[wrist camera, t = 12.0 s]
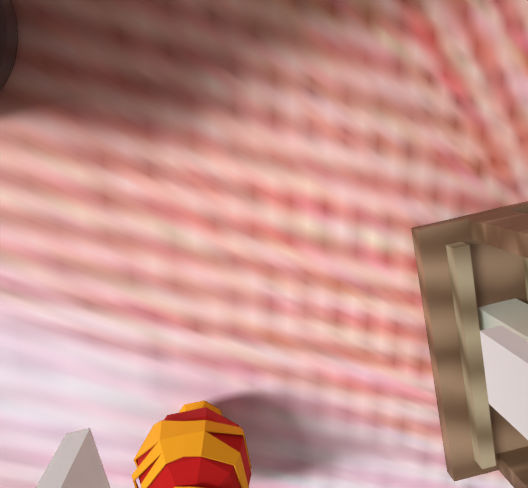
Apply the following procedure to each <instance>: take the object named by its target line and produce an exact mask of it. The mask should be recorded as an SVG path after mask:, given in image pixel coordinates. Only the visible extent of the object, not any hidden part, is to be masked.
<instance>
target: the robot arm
mask: <svg viewBox="0 0 528 488" xmlns="http://www.w3.org/2000/svg"><path fill="white" fill-rule="evenodd" d="M17 37H18V36H17V24H16V18H15V13H14V9H13V6H12V3H11V0H0V90H1V89H2V87H3V86H4V84H5V83H6V81H7V79H8V77H9V75H10V73H11V70H12V68H13V65H14V61H15V57H16V51H17ZM480 337H481V345H482V353H483V361H484V369H485V378H486V386H487V394H488V402H489V404H490V405H491V406H492V407H493V408H494V409H495V410H496V411H497V412H498V413H499V414H500V415H502V416H503V417H504V418H505V419H506V420H507V421H508V422H509V423H510V424H511V425H512V426H513V427H514V428H515V429H517V430H518V431H519V432H520V433H521V434H522V435H523V436H524V437H525V438H526V439H527V440H528V341H526V340H525V339H523V338H521V337H520V336H518V335H516V334H515V333H513V332H512V331H510V330H508V329H507V328H505V327H503V326H502V325H501V326H497V327H493V328H489V329H485V330H481V331H480ZM36 488H110V486H109V483H108V480H107V477H106V474H105V471H104V468H103V465H102V462H101V459H100V456H99V453H98V450H97V447H96V445H95V442H94V439H93V436H92V433H91V430H90V428H88V429H84V430H80V431H76V432H72V433H68V434H66V435H65V437H64V438H63V440H62V442H61V444H60V446H59V447H58V449H57V451H56V453H55V455H54V456H53V458H52V460H51V462H50V463H49V465H48V467H47V469H46V471H45V472H44V474H43V476H42V478H41V480H40V481H39V483H38V485H37V487H36Z"/></svg>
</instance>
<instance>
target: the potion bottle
mask: <svg viewBox="0 0 528 488" xmlns="http://www.w3.org/2000/svg"><path fill="white" fill-rule="evenodd" d="M134 462H135V464H136V466H137V469H136V471H135V472H134V473H133V474H132V478H133V482H134V485H135V488H138V485H137V483H136V479H137V478H138V477H139V480H140V484H141V487H142V488H249V482H250V477H251V470H250V469H251V464H250V459H249V454H248V449H247V444H246V440H245V435H244V432H243V430H242V428H241V427H239V425H237V424H235V423H234V422H232V421H230V420H228V419H226V418H225V417H223V416H222V412H221V410H220V409H218V408H216V407H214V406H213V405H211V404H209V403H207V402H206V401H200V402H195V403H191V404H186V405H184V406H183V407H182V409H181V410H180V412H179V413H176V414H171V415H167V416H166V418H165V419H164V420H162V421H160V422H158V423H156V424H155V425H154V426H153V427H152V429H151V431H150V432H149V434H148V436H147V438H146V439H145V441H144V443H143V445H142V446H141V448H140V450H139V452H138V453H137V455H136V457H135V459H134Z"/></svg>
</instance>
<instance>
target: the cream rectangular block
mask: <svg viewBox="0 0 528 488" xmlns="http://www.w3.org/2000/svg"><path fill="white" fill-rule="evenodd" d="M478 316H479V325H480V331H481V330H485V329H489V328H493V327H497V326H501V325H502V326H503V327H505V328H507V329H508V330H510V331H512V332H513V333H515V334H516V335H518V336H520V337H521V338H523V339H525V340H526V341H528V304H526V303H524V302H522V301H520V300H518V299H516V298H515V299H511V300H507V301H502V302H498V303H494V304H490V305H486V306H482V307H478Z"/></svg>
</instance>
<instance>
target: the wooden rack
mask: <svg viewBox="0 0 528 488" xmlns="http://www.w3.org/2000/svg"><path fill="white" fill-rule="evenodd" d="M412 235H413V242H414V248H415V255H416V262H417V269H418V276H419V282H420V289H421V296H422V303H423V309H424V316H425V323H426V330H427V336H428V343H429V350H430V357H431V363H432V370H433V377H434V384H435V390H436V397H437V404H438V411H439V418H440V424H441V431H442V438H443V445H444V451H445V458H446V465H447V472H448V473H449V475H450V476H451V477H452V479H453V480H454V481H458V480H461V479H465V478H469V477H473V476H477V475H481V474H485V473H488V472H492V471H496V470H499V471H500V472H501V473H502V474H503V475H504V477H505V478H506V479H507V480H508V481H509V482H510V483H511V485H512V486H513V487H514V488H528V440H527V439H526V438H525V437H524V436H523V435H522V434H521V433H520V432H519V431H518V430H517V429H515V428H514V427H513V426H512V425H511V424H510V423H509V422H508V421H507V420H506V419H505V418H504V417H503V416H502V415H500V414H499V413H498V412H497V411H496V410H495V409H494V408H493V407H492V406H491V405H490V404H489V402H488V394H487V386H486V378H485V369H484V361H483V353H482V345H481V337H480V325H479V316H478V307H482V306H486V305H490V304H494V303H498V302H502V301H507V300H511V299H515V298H516V299H518V300H520V301H522V302H524V303H526V304H528V201H527V202H523V203H518V204H514V205H510V206H505V207H501V208H497V209H492V210H488V211H484V212H480V213H475V214H471V215H467V216H462V217H458V218H454V219H449V220H445V221H441V222H436V223H432V224H428V225H424V226H419V227H415V228H412Z"/></svg>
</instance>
